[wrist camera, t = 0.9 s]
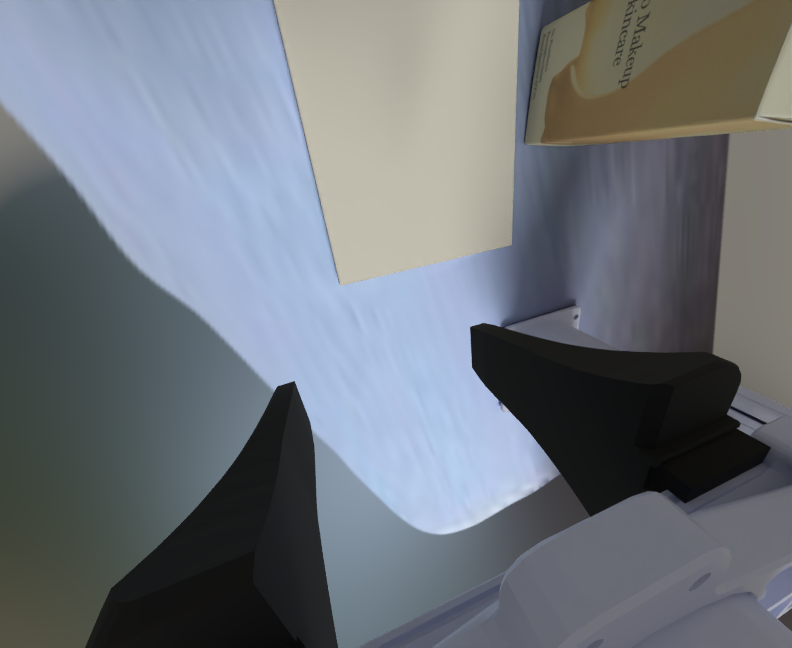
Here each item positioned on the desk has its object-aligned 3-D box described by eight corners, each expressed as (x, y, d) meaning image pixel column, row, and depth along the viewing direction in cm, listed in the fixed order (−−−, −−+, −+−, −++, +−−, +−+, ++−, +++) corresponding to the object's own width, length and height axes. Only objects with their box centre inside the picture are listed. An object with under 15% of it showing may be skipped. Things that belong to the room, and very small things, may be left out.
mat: (507, 243, 24) (511, 245, 23) (339, 283, 21) (340, 285, 20) (516, -118, 15) (523, -127, 15) (241, -133, 13) (240, -144, 12)
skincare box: (538, 27, 18) (880, -181, 8) (595, 34, 20) (960, -137, 9) (521, 151, 21) (758, 122, 11) (572, 151, 22) (832, 125, 12)
